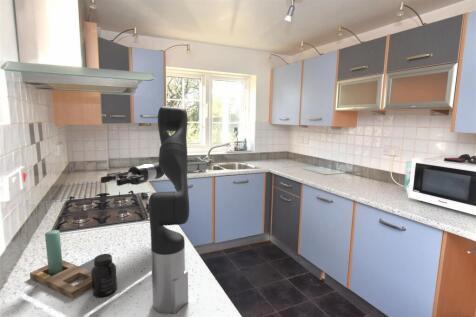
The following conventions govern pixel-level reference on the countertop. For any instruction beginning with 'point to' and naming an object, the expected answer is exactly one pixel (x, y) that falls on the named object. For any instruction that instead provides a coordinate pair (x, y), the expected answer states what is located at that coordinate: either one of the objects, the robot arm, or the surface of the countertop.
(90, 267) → the tab
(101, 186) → the countertop surface
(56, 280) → the hole board
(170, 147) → the robot arm
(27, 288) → the countertop surface
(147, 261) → the countertop surface
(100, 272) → the supplement bottle
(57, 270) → the peg
